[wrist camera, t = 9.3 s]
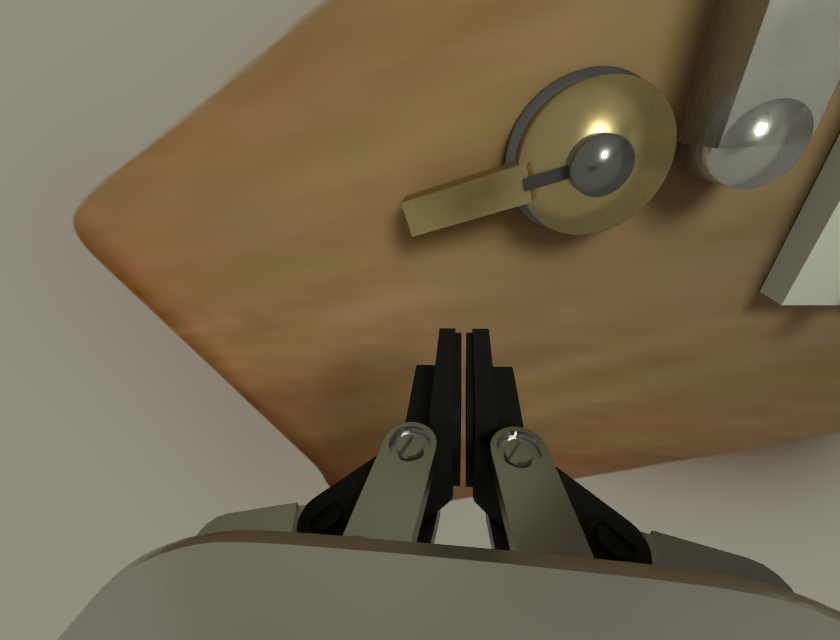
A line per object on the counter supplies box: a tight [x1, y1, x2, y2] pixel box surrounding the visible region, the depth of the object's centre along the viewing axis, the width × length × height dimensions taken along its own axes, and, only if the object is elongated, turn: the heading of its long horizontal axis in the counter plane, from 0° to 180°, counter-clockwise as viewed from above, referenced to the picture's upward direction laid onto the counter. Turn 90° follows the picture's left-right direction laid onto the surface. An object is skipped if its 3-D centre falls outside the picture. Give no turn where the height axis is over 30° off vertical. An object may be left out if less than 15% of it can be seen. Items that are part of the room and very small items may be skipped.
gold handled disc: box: [401, 74, 677, 237], centre depth 20 cm, size 15×8×3 cm, turn 108°
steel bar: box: [675, 0, 840, 189], centre depth 16 cm, size 4×14×4 cm, turn 3°
